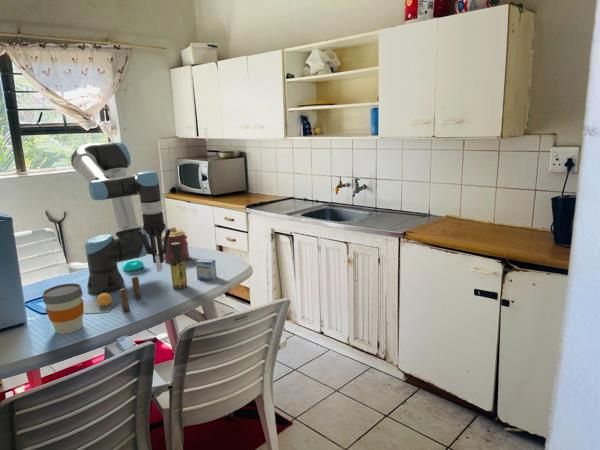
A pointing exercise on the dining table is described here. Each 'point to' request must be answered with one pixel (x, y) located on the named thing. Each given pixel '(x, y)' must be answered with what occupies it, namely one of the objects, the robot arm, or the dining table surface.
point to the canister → (176, 237)
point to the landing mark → (98, 306)
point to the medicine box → (206, 269)
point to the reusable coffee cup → (64, 307)
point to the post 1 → (124, 300)
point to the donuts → (132, 265)
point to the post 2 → (136, 288)
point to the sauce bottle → (178, 267)
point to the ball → (104, 299)
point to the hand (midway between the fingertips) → (160, 270)
